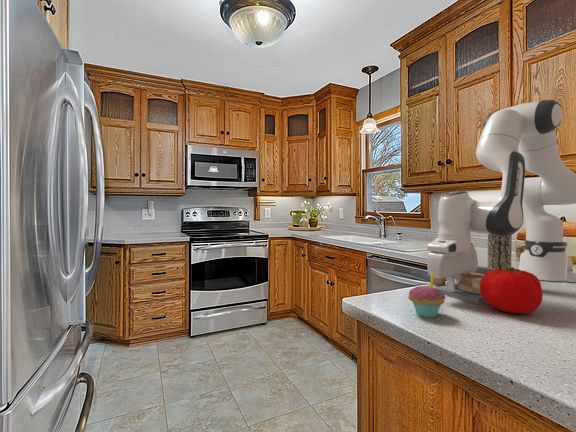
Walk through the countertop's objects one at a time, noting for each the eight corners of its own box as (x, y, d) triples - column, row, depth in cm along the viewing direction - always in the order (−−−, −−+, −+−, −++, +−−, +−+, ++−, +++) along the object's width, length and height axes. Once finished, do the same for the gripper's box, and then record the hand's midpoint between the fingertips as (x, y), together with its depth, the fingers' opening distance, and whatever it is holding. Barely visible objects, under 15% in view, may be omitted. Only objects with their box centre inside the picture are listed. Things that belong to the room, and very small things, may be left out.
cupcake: (449, 314, 79) (449, 267, 79) (437, 323, 73) (437, 272, 73) (416, 306, 85) (416, 263, 85) (402, 314, 79) (402, 267, 79)
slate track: (466, 285, 108) (466, 264, 108) (511, 294, 96) (511, 271, 96) (433, 292, 99) (433, 269, 99) (478, 304, 87) (478, 277, 87)
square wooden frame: (465, 282, 104) (465, 271, 104) (497, 289, 95) (497, 276, 95) (446, 286, 99) (446, 274, 99) (478, 294, 91) (478, 280, 90)
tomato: (547, 323, 72) (548, 274, 72) (481, 314, 79) (481, 269, 79) (536, 308, 83) (537, 265, 83) (478, 301, 90) (478, 261, 89)
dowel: (437, 283, 111) (437, 255, 111) (448, 285, 108) (448, 257, 107) (430, 284, 109) (430, 256, 109) (440, 287, 106) (440, 258, 106)
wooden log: (515, 288, 103) (515, 214, 103) (492, 287, 105) (493, 214, 104) (505, 283, 110) (505, 213, 109) (484, 283, 111) (484, 213, 111)
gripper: (464, 241, 102) (463, 282, 102) (423, 245, 92) (423, 291, 92) (483, 242, 97) (483, 286, 97) (442, 247, 87) (442, 296, 87)
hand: (453, 289), depth 95 cm, fingers closed
